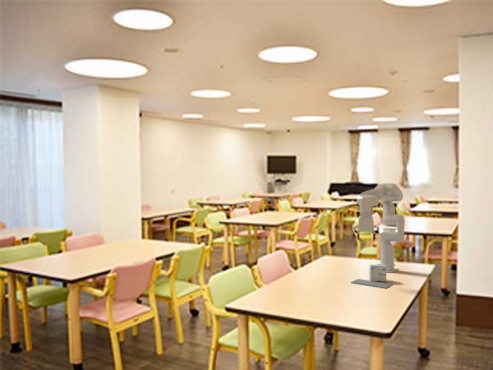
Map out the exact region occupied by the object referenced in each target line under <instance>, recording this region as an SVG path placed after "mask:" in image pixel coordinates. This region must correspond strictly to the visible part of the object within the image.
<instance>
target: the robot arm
mask: <svg viewBox="0 0 493 370" xmlns="http://www.w3.org/2000/svg"><path fill="white" fill-rule="evenodd" d="M403 199H404V194H403V191H402V190H401V188H400V187H399V186H398V184H396V183H394V182H391V183H390V182H389V183H385V182H384V183H383V182H382V183H380V184H378V185H376V186H375V187H374V189H369V190H366V191H363V192H361V193H360V194H359V195H358V196H357V199H356V203H357V205H358V206H359V216H358V221H357V225H355V226H352V230H353V231H354V233H355V234H356V239H357V241H360V233H361V232H365V233H367V232H368V233H369V232H371V233H372V240H373V241H375V240H376V234H377V233H378V238H379V245H380V247H379V249H380V250H379V251H380V253H379V254H380V264H385V265H386V273H396V272H397V269H396V268H395V266H396V264H395V248H394V247H395V246H394V245H393V243H392V242H394V243H396V242H397V243H401V242H403V241H404V235H405V227H406V226H405V225H406V223H405V222H406V220H405V216H404V215H402V214H399V213H396V207H395V204H393V202H395V203H396V202H397V203H398V202H402V200H403ZM380 202H381V206H382V218H381V222H382V225H383V226H385V227H384V228H383V227H382V228H381V229H380V227H379V226H377V225H376V224H375V223H374V222H375V221H374V217H373V215H375V213H374V212H373V211H372V207H376V206H378V204H379V203H380ZM356 229H358V230H356ZM375 229H376V230H375Z"/></svg>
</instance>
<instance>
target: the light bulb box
mask: <svg viewBox="0 0 493 370" xmlns="http://www.w3.org/2000/svg"><path fill="white" fill-rule="evenodd" d="M368 280H369V281H375V282H387V272H386V265H385V264H381V263H369V264H368Z"/></svg>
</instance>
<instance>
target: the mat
mask: <svg viewBox="0 0 493 370" xmlns="http://www.w3.org/2000/svg"><path fill="white" fill-rule="evenodd" d="M350 284H355V285H359V286H360V285H361V286H367V287H373V288H379V289H380V288H381V289H385V290H386V289H388V288H390V287H392V286H393V284H392V283H388V282H383V281H370V280H369V279H362V278H357V279H355V280H353V281H351V282H350Z"/></svg>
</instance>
